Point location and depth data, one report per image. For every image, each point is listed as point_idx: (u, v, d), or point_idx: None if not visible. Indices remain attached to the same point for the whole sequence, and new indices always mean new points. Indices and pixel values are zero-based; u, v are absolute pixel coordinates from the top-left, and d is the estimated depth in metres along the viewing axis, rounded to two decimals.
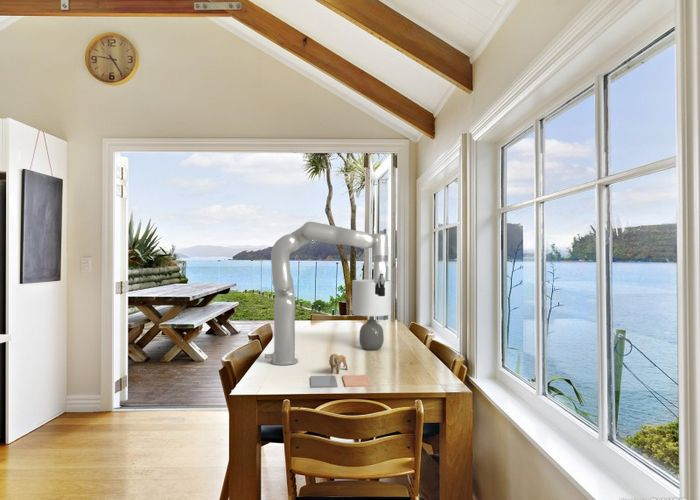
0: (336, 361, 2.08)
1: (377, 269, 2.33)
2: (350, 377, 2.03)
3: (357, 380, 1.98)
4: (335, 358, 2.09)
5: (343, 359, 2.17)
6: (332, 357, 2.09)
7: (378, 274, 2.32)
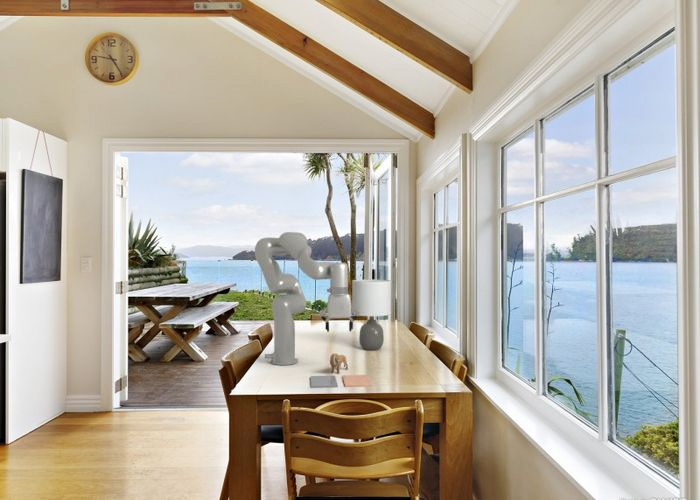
0: (337, 361, 2.09)
1: (350, 302, 2.13)
2: (350, 377, 2.03)
3: (357, 380, 1.98)
4: (336, 358, 2.09)
5: (344, 359, 2.17)
6: (333, 357, 2.09)
7: None
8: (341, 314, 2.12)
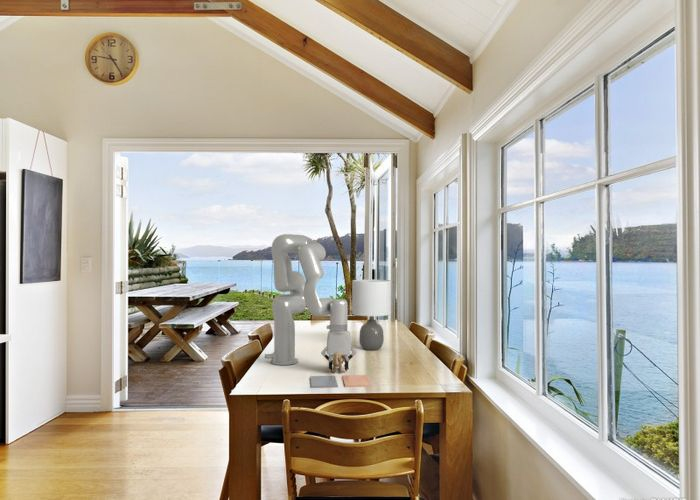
0: (339, 360, 2.09)
1: None
2: (350, 377, 2.03)
3: (357, 380, 1.98)
4: (338, 357, 2.10)
5: (345, 358, 2.18)
6: (335, 356, 2.09)
7: (350, 344, 2.13)
8: (341, 351, 2.12)
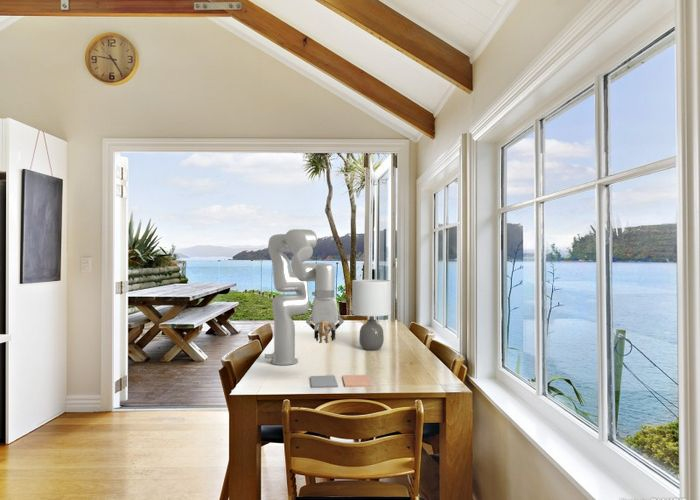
0: (326, 329, 1.94)
1: None
2: (350, 377, 2.03)
3: (357, 380, 1.98)
4: (325, 325, 1.94)
5: (331, 328, 2.02)
6: (322, 324, 1.94)
7: (337, 312, 1.98)
8: (327, 319, 1.96)
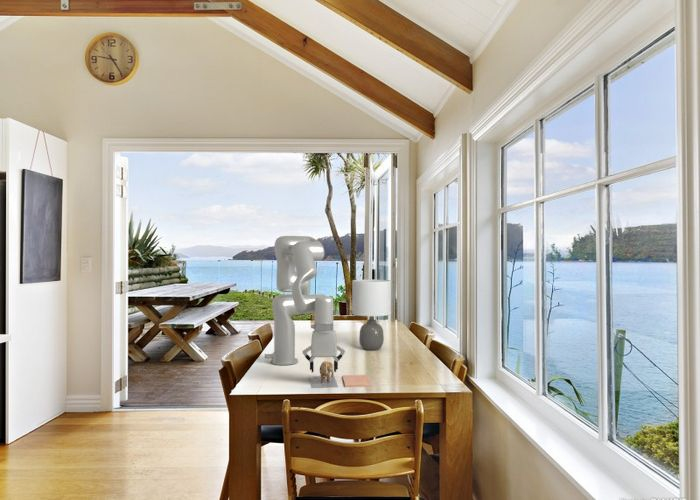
0: (329, 369, 1.93)
1: None
2: (350, 377, 2.03)
3: (357, 380, 1.98)
4: (328, 366, 1.93)
5: (331, 366, 2.02)
6: (325, 365, 1.93)
7: (336, 345, 1.97)
8: (326, 353, 1.95)
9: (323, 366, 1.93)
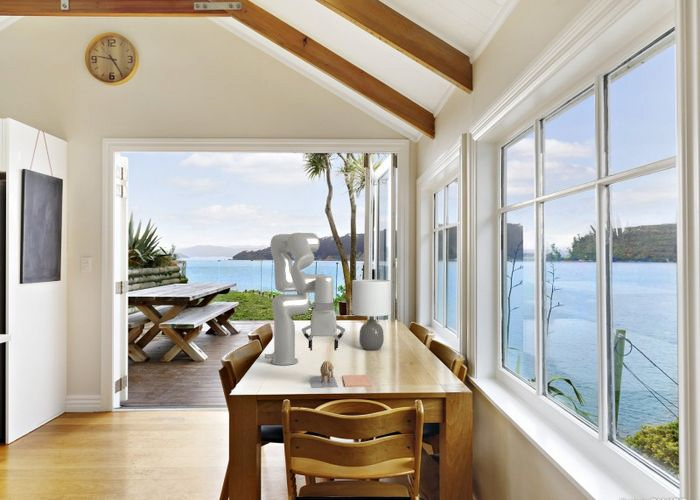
0: (330, 369, 1.94)
1: (335, 319, 1.97)
2: (350, 377, 2.03)
3: (357, 380, 1.98)
4: (329, 366, 1.94)
5: None
6: (326, 365, 1.93)
7: (336, 325, 1.97)
8: (325, 332, 1.96)
9: (324, 366, 1.93)
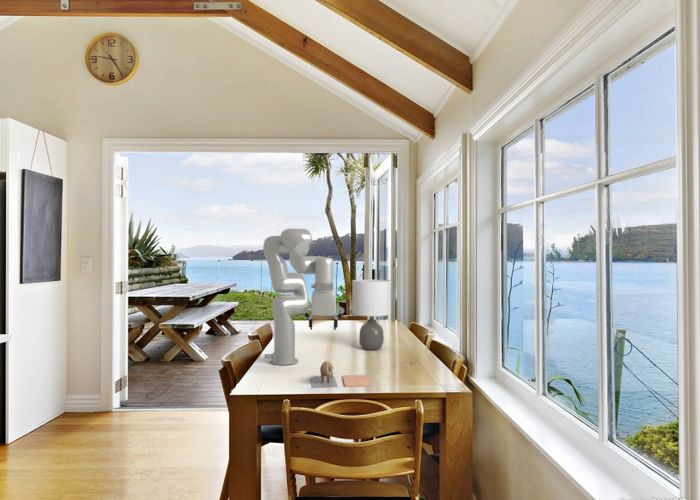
0: (330, 369, 1.94)
1: (335, 299, 2.03)
2: (350, 377, 2.03)
3: (357, 380, 1.98)
4: (329, 366, 1.94)
5: None
6: (326, 365, 1.93)
7: (336, 305, 2.03)
8: (325, 311, 2.02)
9: (324, 366, 1.93)
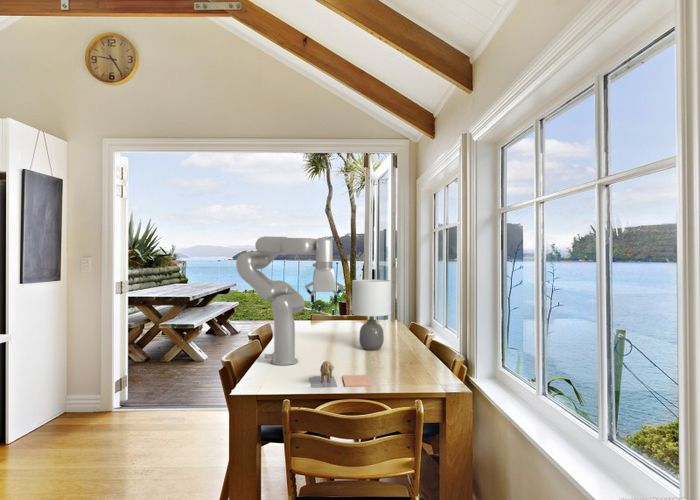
0: (331, 369, 1.94)
1: None
2: (350, 377, 2.03)
3: (357, 380, 1.98)
4: (329, 366, 1.94)
5: None
6: (326, 365, 1.94)
7: (335, 281, 2.22)
8: (326, 288, 2.20)
9: (325, 366, 1.94)
